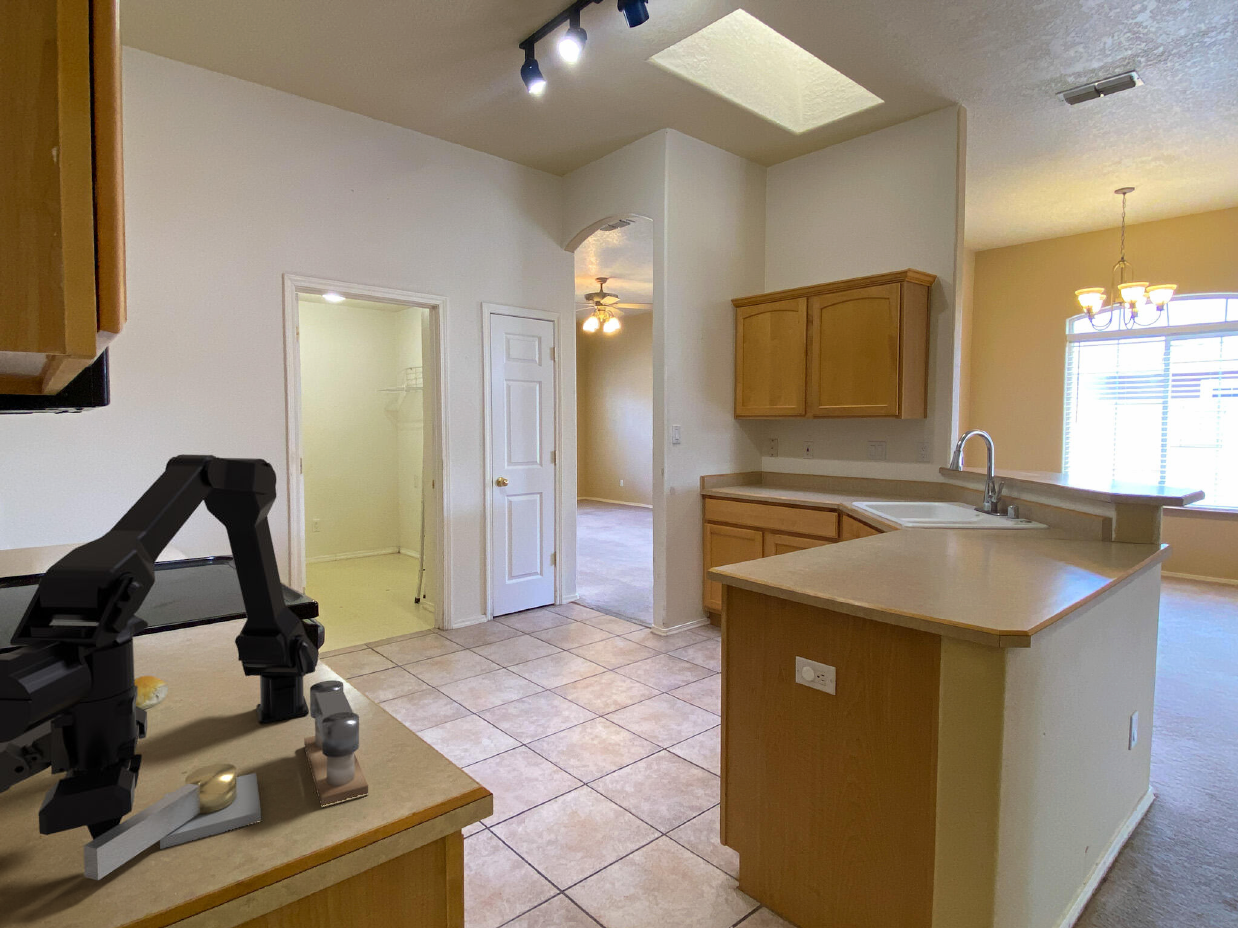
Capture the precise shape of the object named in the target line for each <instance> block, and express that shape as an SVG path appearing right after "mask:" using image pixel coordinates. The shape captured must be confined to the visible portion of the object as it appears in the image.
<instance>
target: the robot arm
mask: <svg viewBox="0 0 1238 928" xmlns="http://www.w3.org/2000/svg"><path fill="white" fill-rule="evenodd" d="M276 473H277V472H276V471H275V469H274V468H273V466H272V464H271V463H270V462H267V460H265V459H263V458H242V457H241V458H240V457H239V458H238V457H219V456H216V455H214V454H178V455H175V456H172V457H171V458H169V459H168V461H167V462H166V465H165V471H163V472H162V473H161V474H160V476H159V477H158V478H157V479H156V480H155V481H154V482H153V483H152V484H151V486H150V487H149V488H148V489H147V490H146V491H145V492H144V493H143V494H142V495H141V496H140V497H138V500H136V501H135V503H134V504H132V506H131V507H130V508H129V509H128V510H127V511H126V512H125V513H124V514H123V516H121V518H120V519H119V520H118V521H117V522H116V523H115V524H114V526H113V527H112V528H111V529H109V531H107V532H106V533H105V534H103V535H102V536H100V537H99V538H96V539H93V540H91V541H89V542H87V543H84V544H82V545H79V546H77V547H75V548H73V549H72V550H70V552H68V553H67V554H65V555H64V556H63V557H61V558H60V559H59V560H58V561H56V562H55V563H53V564H52V565H51V566H50V567H49V568H48V569H47V570H46V571H45V572H44V574H42V577H41V578H40V580H39V583H38V584H37V585H38V586H37V588H36V590H35V593H34V594H33V596H32V597H31V599H30V602H29V603H28V605H27V608H26V609H25V611H24V614H23V616H22V617H21V619H20V621H19V623H18V625H17V627H16V629H15V630H14V632H13V635H12V637H11V638H10V640H9V644H10V646H12V647H14V646H15V647H21V648H18V649H15V650H13V651H11V652H8V653H6V652H5V653H1V654H0V794H2V793H4V792H6V791H8V790H10V788H11V787H12V786H14V785H16V784H19V783H20V782H23V781H24V780H25V781H26V780H27V779H29V778H31V777H34V776H35V775H38V774H39V773H41V772H44V771H45V770H47V769H49V768H50V769H51V775H57V774H62V773H65V775H64V778H61V779H58V780H57V782H55V784H54V785H53V786H52V787H51V788H50V789H49V790H48V791H47V792H46V794H45V796H44V798H43V801H42V803H41V806H40V808H39V811H38V828H39V829H38V831H39V832H38V833H39V834H40V835H45V836H49V835H53V834H57V833H60V832H66V831H69V830H70V831H71V830H73V829H77V828H82V827H87V829H88V832H89V834H90V836H91V838H92V840H94V839H96V838H97V837H99V836H101V835H102V834H104V833H106V832H107V831H109V830H111V829H112V828H114V827H116V826H117V825H119V824H121V823H122V822H121V821H122V818H123V817H125V816H126V815H128V814H130V813H131V812H132V811H133V806H134V801H135V800H134V799H135V793H136V792H135V791H136V788H137V785H138V781H139V775H140V769H141V765H142V758H143V754H142V753H141V754H140V753H136V750H137V746H138V740H140V739H141V740H142V739H146V737H147V732H148V711H146V709H144V710H143V709H141V708H140V707H138V706H136V704H135V702H136V700H137V696H138V692H137V686H135V679H136V678H135V658H134V657H135V655H134V654H135V653H134V635H135V634H137V633H140V632H141V631H144V630H145V629H147V628H148V627H149V622H148V621H146V620H144V619H143V618H142V617H141V618H140V617H139V616H137V615H135V614H136V613H137V612H138V611H139V609H140V608H141V606H142V605H143V602H144V601H145V600H146V598H147V596H148V594H149V593H150V590H152V587H153V585H154V584H155V582H156V575H155V563H156V561H157V560H158V558H159V557H160V555H161V554H162V552H163V551H164V550H165V548H167V546H168V545H169V543H170V542H171V541H172V540H173V538H175V536H176V535H177V534H178V533H179V531H180V530H181V528H182V527H183V526H184V525H185V524H186V522H188V520H189V519H190V517H191V516H192V515H193V514H194V512H195V511H196V510H197V509H198V507H199V506H200V505H201V503H202V502H203V503H204V506H205V508H206V510H207V511H208V512H209V513H210V514H211V515H212V516H214V518H215V519H217V520H218V521H219V522H220V523H221V524H222V526H224V527H225V529H226V533H227V539H228V541H229V546H230V552H231V555H232V559H233V564H234V568H235V572H236V575H237V580H238V585H239V589H240V593H241V598H242V601H243V606H244V611H245V614H246V621H245V623H244V625H243V627H242V628H241V631H240V633H239V634H238V635H237V636H236V637H235V640H234V643H235V645H236V648H237V653H238V661H239V662H240V661H241V666H242V668H243V672H244V676H245V677H251V676H253V677H254V676H257V677H258V676H259V683H260V684H259V686H260V688H259V690H260V691H259V692H260V694H259V695H260V703H257V704H256V714H257V718H258V719H257V720H258V723H259V724H263V725H264V724H267V723H273V722H277V721H281V720H282V719H283V720H286V719H291V718H292V717H293V718H296V717H297V718H298V717H301V716H306V715H309V714H310V710H309V707H308V704H307V703H308V702H307V701H306V697H305V695H304V692H305V691H304V677H305V676H307V675H309V674H313V673H315V671H316V667H317V665H318V662H319V650H318V649H317V648H316V646H315V645H314V643H312V641H311V640H310V639H309V637H308V636H307V633H306V631H305V628H304V625H303V622H302V619H301V618H300V617H298V615H296V614H295V613H294V612H293V611H292V610H291V609H290V608H289V607H287V605H286V601H285V597H284V592H283V588H282V583H281V577H280V572H279V567H278V564H277V559H276V553H275V548H274V544H273V538H272V533H271V530H270V524H269V519H268V516H269V513H270V511H271V509H272V507H273V505H274V503H275V501H276V499H277V488H276V487H277V474H276ZM53 621H55V622H59V623H60V622H61V623H64V622H65V623H94V624H92V625H75V624H74V625H70V624H67V625H66V624H64V625H61V624H52V623H53Z"/></svg>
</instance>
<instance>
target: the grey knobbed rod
mask: <svg viewBox="0 0 1238 928" xmlns="http://www.w3.org/2000/svg"><path fill="white" fill-rule="evenodd" d="M309 695H310V696H309V706H310V710H309V714H310V716H309V717H311V718H313V719H314V721H315V720H316V723H317V726H318V729H319V732H320V735H321V738H322V753H323V754H324V755H325V756H327V757H342V756H346V755H349V754H352V753H353V752H354V753H355V752H357V750H358V749H359V748H360V716H359V714H357V713H356V712H354V711H353V709H352V707H351V705H350V703H349V701H348V698H347V696H346V694H345V692H344V683H343V682H342V681H340V680H333V679H332V680H323V681H320V682H317V683H315V684H312V685H311V686H310V687H309Z"/></svg>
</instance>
